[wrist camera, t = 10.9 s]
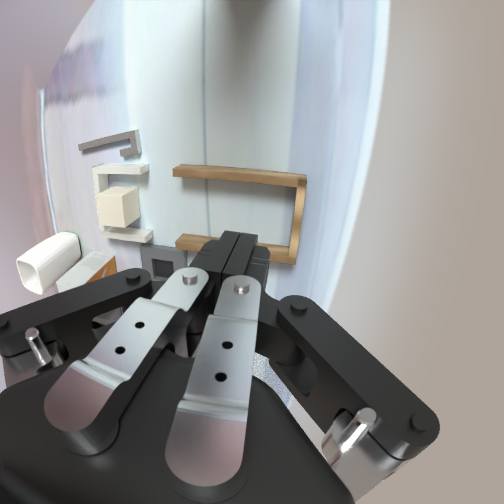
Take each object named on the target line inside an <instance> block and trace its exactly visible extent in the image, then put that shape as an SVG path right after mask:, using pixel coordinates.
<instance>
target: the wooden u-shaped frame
mask: <svg viewBox="0 0 504 504" xmlns="http://www.w3.org/2000/svg"><path fill="white" fill-rule="evenodd" d="M173 177H191V178H206V179H220V180H232V181H243V182H253V183H263V184H272V185H281V186H289V187H297V191H296V199H295V208H294V216H293V224H292V232H291V239H290V247H286V246H278V245H271V244H263V243H257V246H264V247H267V248H268V250H269V251H270V261H271V262H279V263H286V264H294V265H295V262H296V256H297V249H298V242H299V236H300V229H301V221H302V214H303V207H304V199H305V191H306V183H307V177H306V175H301V174H293V173H285V172H276V171H267V170H257V169H246V168H233V167H220V166H204V165H183V164H181V165H179V166H177V167H175V168H173ZM212 239H215V240H219V239H220V238H215V237H207V236H199V235H190V234H182V235H181V236H180V238H179V239H178V240H177V241H176V242H175V244H176V249H182V250H189V251H196V252H199V251H200V250H201V248H202V246H203V245H204V244H205V243H206V242H208V241H210V240H212Z"/></svg>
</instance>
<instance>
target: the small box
mask: <svg viewBox="0 0 504 504" xmlns="http://www.w3.org/2000/svg"><path fill="white" fill-rule="evenodd" d="M116 273H117V272H116V265H115V256H114V255H109V254H104V253H100V252H96V251H91V252H90V253H89V254H88V255H87V256H85V257H84V258H83V259H82V260H81V261H79V262H78V263H77V264H76V265H75V266H73V267H72V268H71V269H70V270H69V271H68V272H66V273H65V274H64V275H63V276H62V277H61V278H60V279H58V280H57V281H56V284H57V288H58V291H59V293H61V292H64V291H66V290H69V289H72V288H75V287H78V286H81V285H84V284H86V283H89V282H92V281H95V280H98V279H101V278H104V277H107V276H110V275H113V274H116Z"/></svg>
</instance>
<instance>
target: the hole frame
mask: <svg viewBox="0 0 504 504" xmlns="http://www.w3.org/2000/svg"><path fill="white" fill-rule="evenodd" d="M140 253H141V260H142V268H143V269H144V270H147V271H148V272H149V273H150V274H151V280H152V281H165V280H168V279H169V278H170V277H171V276H172V274H173V273H174V272H176V271H177V270H179V269H182V268H187V254H186V250H182V249H176V248H173V247H166V246H159V245H151V244H144V243H142V244H141V245H140Z"/></svg>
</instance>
